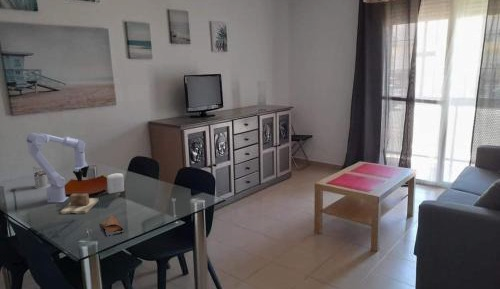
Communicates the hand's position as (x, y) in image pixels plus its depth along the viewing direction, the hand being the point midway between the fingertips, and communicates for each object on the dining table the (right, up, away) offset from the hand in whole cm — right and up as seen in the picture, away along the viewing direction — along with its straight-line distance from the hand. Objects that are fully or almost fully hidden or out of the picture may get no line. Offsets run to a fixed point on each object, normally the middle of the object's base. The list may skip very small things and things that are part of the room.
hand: (82, 179), depth 241 cm
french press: (-34, -6, +15) cm, 38 cm away
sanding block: (+8, -13, -20) cm, 25 cm away
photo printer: (+20, -9, +5) cm, 22 cm away
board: (+8, -14, -20) cm, 25 cm away
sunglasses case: (+35, -21, -46) cm, 62 cm away
